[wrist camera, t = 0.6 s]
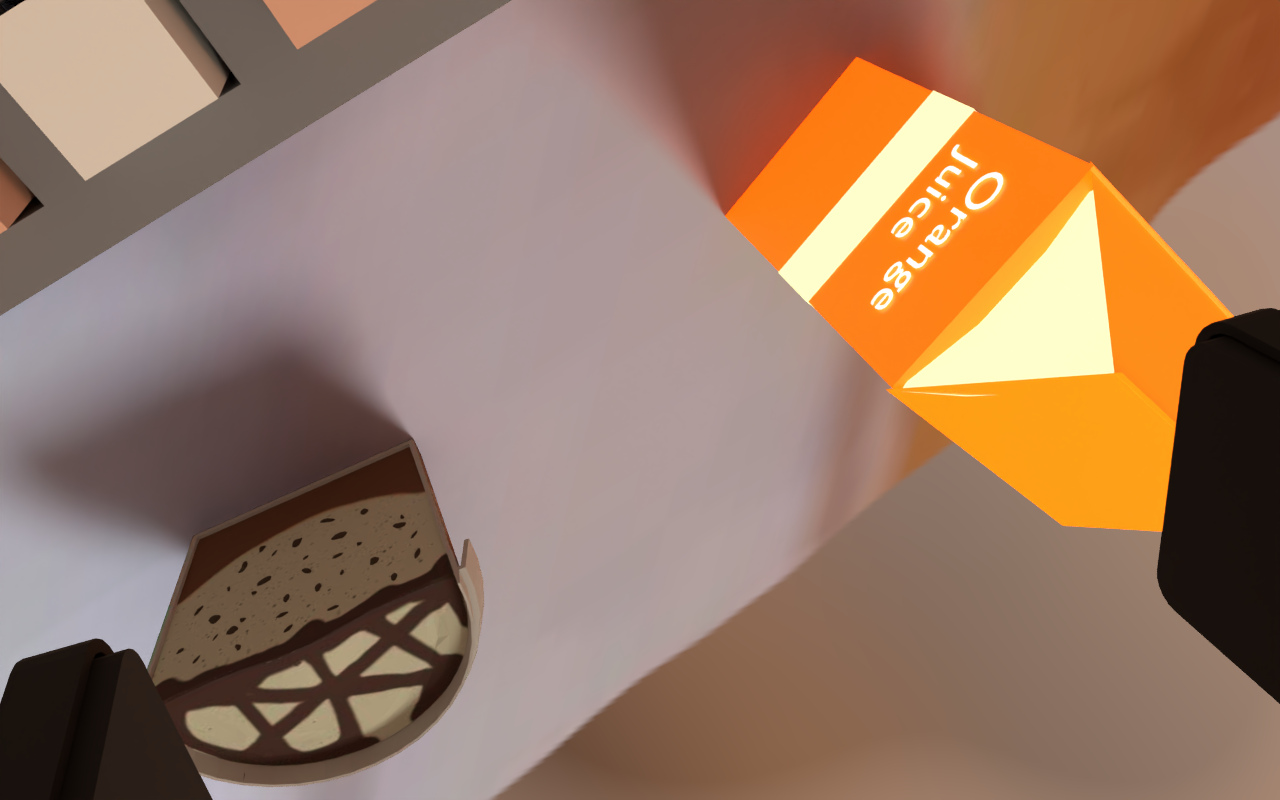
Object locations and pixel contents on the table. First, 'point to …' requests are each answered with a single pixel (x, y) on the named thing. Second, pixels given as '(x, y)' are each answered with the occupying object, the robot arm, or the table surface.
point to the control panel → (206, 127)
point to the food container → (320, 628)
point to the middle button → (106, 73)
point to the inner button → (312, 16)
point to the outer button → (11, 196)
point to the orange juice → (989, 290)
